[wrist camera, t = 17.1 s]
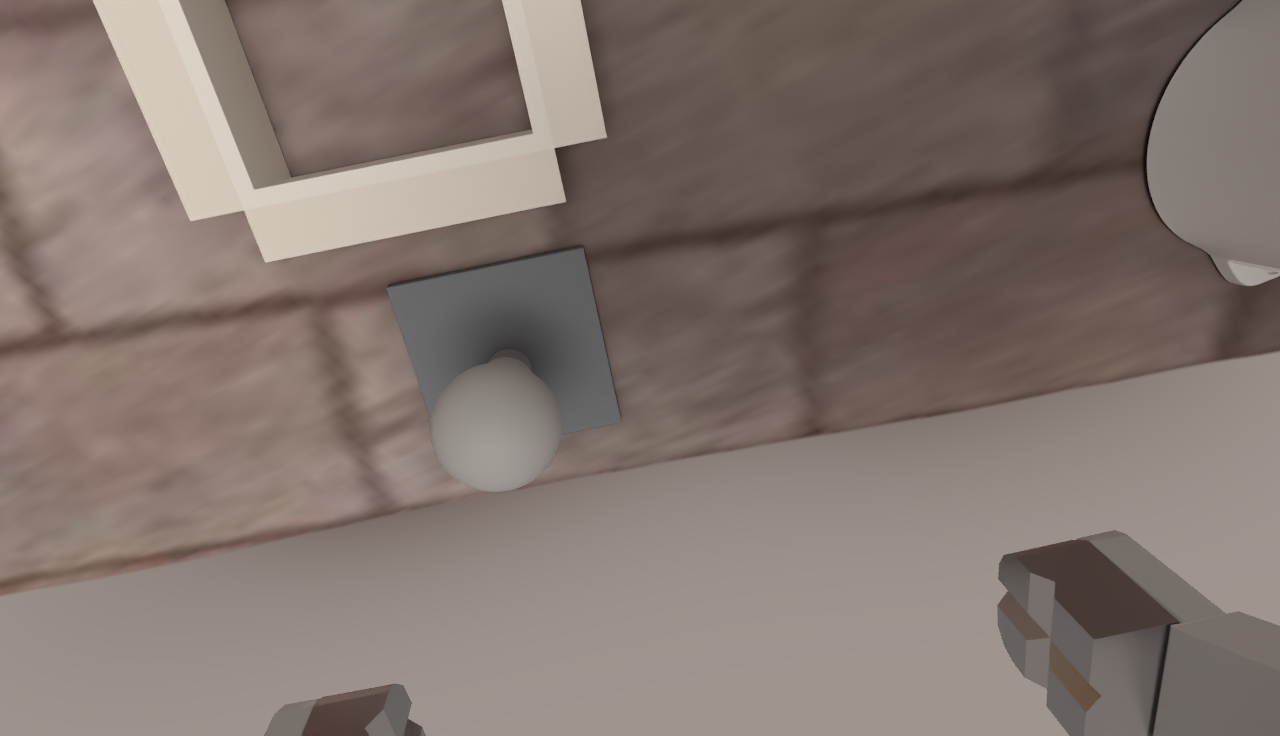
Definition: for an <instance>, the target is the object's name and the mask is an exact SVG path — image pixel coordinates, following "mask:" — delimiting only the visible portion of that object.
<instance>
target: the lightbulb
mask: <svg viewBox="0 0 1280 736" xmlns="http://www.w3.org/2000/svg"><path fill="white" fill-rule="evenodd" d="M430 434H431V443H432V445H433V448H434V451H435V454H436V456H437V458H438V460H439V462H440V463H441V465H442V467H443V468H444V469H445V470H446V471H447V472H448V473H449V474H450V475H451V476H452V477H454V478H455V479H456V480H458V481H459V482H461V483H463V484H465V485H467V486H469V487H471V488H474V489H478V490H481V491H489V492H501V491H508V490H513V489H517V488H519V487H522V486H524V485H526V484H528V483H529V482H531V481H533V480H534V479H536V478H537V477H538V476H539V475H540V474H541V473H542V472H543V471H544V470H545V469H546V468H547V467H548V465H549V464H550V462H551V461H552V460H553V458H554V456H555V453H556V451H557V449H558V447H559V444H560V439H561V434H562V418H561V413H560V409H559V405H558V403H557V401H556V399H555V398H554V396H553V394H552V392H551V390H550V389H549V388H548V386H547V385H546V384H545V383H544V382H543V381H542V380H541V379H540V378H539V377H538V376H536V375H535V374H533V373H532V369H531V364H530V361H529V359H528V358H527V357H526V356H525V355H524V354H523V353H521V352H520V351H517V350H514V349H504V350H501V351H498V352H497V353H495V354H494V355H493V356H492V357H491V358H490V360H489V362H488V363H486V364H482V365H477V366H475V367H472V368H470V369H467V370H465V371H464V372H462V373H461V374H459V375H458V376H456V377H455V378H454V379H452V380H451V381H450V382H449V383H448V384H447V385H446V386H445V387H444V388H443V390H442V392H441V393H440V395H439V396H438V398H437V400H436V402H435V405H434V408H433V411H432V414H431V421H430Z"/></svg>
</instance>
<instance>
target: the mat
mask: <svg viewBox="0 0 1280 736" xmlns="http://www.w3.org/2000/svg"><path fill="white" fill-rule="evenodd" d="M386 289H387V292H388V295H389V298H390V301H391V304H392V307H393V309H394V312H395V315H396V318H397V321H398V324H399V327H400V330H401V333H402V336H403V339H404V342H405V344H406V347H407V350H408V353H409V356H410V359H411V362H412V365H413V368H414V371H415V374H416V377H417V380H418V382H419V385H420V388H421V391H422V394H423V397H424V400H425V403H426V406H427V409H428V412H429V415H430V417H431V414H432V411H433V408H434V405H435V402H436V400H437V398H438V396H439V395H440V393H441V392H442V390H443V388H444V387H445V386H446V385H447V384H448V383H449V382H450V381H451V380H452V379H454V378H455V377H456V376H458V375H459V374H461V373H462V372H464V371H465V370H467V369H470V368H472V367H475V366H477V365H482V364H486V363H488V362H489V360H490V358H491V357H492V356H493V355H494V354H495V353H497V352H498V351H501V350H504V349H514V350H517V351H520V352H521V353H523V354H524V355H525V356H526V357H527V358H528V359H529V361H530V364H531V369H532V373H533V374H535V375H536V376H538V377H539V378H540V379H541V380H542V381H543V382H544V383H545V384H546V385H547V386H548V388H549V389H550V390H551V392H552V394H553V396H554V398H555V399H556V401H557V403H558V405H559V409H560V413H561V418H562V434H561V435H563V434H568V433H573V432H578V431H583V430H587V429H592V428H597V427H602V426H607V425H612V424H616V423H621V417H620V412H619V408H618V403H617V399H616V394H615V390H614V385H613V380H612V376H611V371H610V367H609V362H608V358H607V353H606V348H605V344H604V339H603V335H602V330H601V326H600V321H599V316H598V312H597V307H596V303H595V298H594V294H593V289H592V284H591V280H590V275H589V271H588V266H587V262H586V257H585V252H584V248H583V246H579V247H574V248H569V249H564V250H559V251H554V252H549V253H544V254H540V255H535V256H530V257H525V258H520V259H515V260H510V261H505V262H500V263H495V264H490V265H485V266H480V267H476V268H471V269H466V270H461V271H456V272H451V273H446V274H441V275H436V276H431V277H426V278H421V279H416V280H411V281H407V282H402V283H397V284H392V285H388V287H387V288H386Z"/></svg>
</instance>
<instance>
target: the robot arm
mask: <svg viewBox="0 0 1280 736" xmlns="http://www.w3.org/2000/svg"><path fill="white" fill-rule="evenodd" d="M1147 178H1148V185H1149V190H1150V194H1151V197H1152V200H1153V203H1154V205H1155V208H1156V210H1157V212H1158V214H1159V215H1160V217H1161V218H1162V220H1163V221H1164V223H1165V224H1166V225H1167V226H1168V227H1169V229H1171V230H1172V231H1173V232H1174V233H1175V234H1176V235H1177V236H1179V237H1180V238H1181V239H1183V240H1185V241H1186V242H1188V243H1190V244H1192V245H1194V246H1196V247H1198V248H1200V249H1202V250H1204V251H1205V252H1207V253H1208V254H1209V255H1210V256H1211V257H1212V259H1213V261H1214V263H1215V265H1216V266H1217V268H1218V270H1219V271H1220V273H1221V274H1222V276H1223V277H1224V278H1225V279H1226V280H1227V281H1228V282H1230V283H1233V284H1238V285H1244V286H1254V285H1258V284H1261V283H1263V282H1266V281H1268V280H1271V279H1274V278H1276V277H1279V276H1280V0H1242V1H1241V2H1240V3H1239V4H1238V5H1237V6H1236V7H1235V8H1234V9H1233V10H1231V11H1230V12H1229V13H1228V14H1227V15H1226V16H1225V17H1223V18H1222V19H1221V20H1220V21H1219V22H1218V23H1217V24H1215V25H1214V26H1213V27H1212V28H1211V29H1210V30H1209V31H1208V32H1207V33H1206V34H1205V35H1204V36H1203V37H1202V38H1201V39H1200V40H1199V42H1198V43H1197V44H1196V45H1195V46H1194V48H1193V49H1192V50H1191V51H1190V53H1189V54H1188V55H1187V56H1186V58H1185V59H1184V60H1183V62H1182V63H1181V65H1180V66H1179V68H1178V69H1177V71H1176V73H1175V74H1174V76H1173V78H1172V79H1171V81H1170V83H1169V85H1168V87H1167V89H1166V91H1165V93H1164V95H1163V97H1162V99H1161V102H1160V104H1159V107H1158V109H1157V112H1156V115H1155V118H1154V121H1153V125H1152V129H1151V133H1150V138H1149V143H1148V151H1147ZM998 579H999V580H1000V581H1001V583H1002V584H1003V585H1004V586H1005V587H1006V589H1007V590H1008V592H1007V593H1006V594H1005V596H1004V597H1003V598H1002V600H1001V601H1000V603H999V604H998V627H999V630H1000V633H1001V637H1002V640H1003V643H1004V646H1005V648H1006V650H1007V652H1008V654H1009V655H1010V657H1011V659H1012V661H1013V662H1014V664H1015V665H1016V666H1017V668H1018V669H1019V670H1020V672H1021V673H1022V675H1023V676H1024V677H1025V678H1027V679H1029V680H1031V681H1033V682H1035V683H1037V684H1039V685H1041V686H1043V687H1045V688H1046V689H1047V707H1048V709H1049V710H1050V711H1051V712H1052V714H1053V715H1054V716H1055V717H1056V718H1057V720H1058V721H1059V723H1060V724H1061V725H1062V727H1063V728H1064V729H1065V730H1066V732H1067V733H1068V734H1069V736H1280V626H1278V625H1275V624H1272V623H1270V622H1267V621H1264V620H1261V619H1258V618H1256V617H1253V616H1249V615H1247V614H1244V613H1241V612H1234V613H1228V614H1226V613H1225V612H1223V611H1222V610H1221V609H1220V608H1218V607H1217V606H1216V605H1214V604H1213V603H1212V602H1211V601H1210V600H1208V599H1207V598H1206V597H1204V596H1203V595H1202V594H1201V593H1199V592H1198V591H1197V590H1196V589H1194V588H1193V587H1192V586H1191V585H1189V584H1188V583H1187V582H1186V581H1184V580H1183V579H1182V578H1181V577H1179V576H1178V575H1177V574H1176V573H1174V572H1173V571H1172V570H1171V569H1169V568H1168V567H1167V566H1166V565H1164V564H1163V563H1162V562H1161V561H1159V560H1158V559H1157V558H1156V557H1154V556H1153V555H1152V554H1151V553H1149V552H1148V551H1147V550H1146V549H1144V548H1143V547H1142V546H1141V545H1139V544H1138V543H1137V542H1136V541H1134V540H1133V539H1132V538H1131V537H1129V536H1128V535H1126V534H1124V533H1122V532H1118V531H1115V530H1113V531H1109V532H1104V533H1100V534H1095V535H1091V536H1087V537H1082V538H1078V539H1077V540H1070V541H1066V542H1061V543H1056V544H1052V545H1047V546H1043V547H1039V548H1034V549H1029V550H1025V551H1020V552H1016V553H1011V554H1006V555H1004V556H1003V558H1002V559H1001V562H1000V563H999V577H998ZM411 704H412V703H411V701H410V699H409V697H408V694H407V692H406V690H405V688H404V686H403V685H399V684H391V685H385V686H380V687H375V688H369V689H364V690H359V691H353V692H348V693H342V694H337V695H332V696H326V697H322V698H321V699H316V700H309V701H304V702H298V703H293V704H287V705H284V706H283V707H282V708H281V709H280V710H279V711H278V712H277V713H275V715H274V716H273V718H272V721H271V723H270V725H269V727H268V729H267V731H266V733H265V735H264V736H426V735H425V733H424V730H423V728H422V727H421V726H419V725H418V724H416V723H414V722H412V721H411V720H409V719H408V716H409V712H410V708H411Z"/></svg>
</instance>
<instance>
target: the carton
mask: <svg viewBox="0 0 1280 736" xmlns="http://www.w3.org/2000/svg"><path fill="white" fill-rule="evenodd" d="M93 2H94V4H95V7H96V9H97V11H98V13H99V16H100V18H101V20H102V22H103V25H104V27H105V29H106V31H107V34H108V36H109V38H110V40H111V43H112V45H113V47H114V50H115V52H116V54H117V56H118V59H119V61H120V63H121V65H122V68H123V70H124V72H125V74H126V77H127V79H128V81H129V83H130V86H131V88H132V90H133V92H134V95H135V97H136V99H137V102H138V104H139V106H140V108H141V111H142V113H143V115H144V117H145V120H146V122H147V124H148V126H149V129H150V131H151V133H152V135H153V138H154V140H155V142H156V144H157V147H158V149H159V151H160V153H161V156H162V158H163V160H164V163H165V165H166V167H167V169H168V172H169V174H170V176H171V178H172V181H173V183H174V185H175V187H176V190H177V192H178V194H179V196H180V199H181V201H182V203H183V205H184V208H185V210H186V212H187V215H188V217H189V219H190V221H194V220H199V219H204V218H209V217H214V216H219V215H224V214H229V213H234V212H239V211H244V212H245V214H246V217H247V219H248V222H249V224H250V226H251V229H252V231H253V234H254V236H255V239H256V241H257V244H258V246H259V248H260V251H261V253H262V256H263V258H264V261H265V263H266V262H271V261H276V260H281V259H286V258H291V257H296V256H301V255H306V254H310V253H315V252H320V251H325V250H330V249H335V248H340V247H345V246H350V245H355V244H360V243H365V242H370V241H375V240H380V239H385V238H390V237H395V236H400V235H405V234H409V233H414V232H419V231H424V230H429V229H434V228H439V227H444V226H449V225H454V224H459V223H464V222H469V221H474V220H479V219H484V218H489V217H494V216H499V215H504V214H508V213H513V212H518V211H523V210H528V209H533V208H538V207H543V206H548V205H553V204H558V203H563V202H566V198H565V193H564V189H563V184H562V180H561V175H560V171H559V166H558V162H557V157H556V153H555V148H558V147H563V146H568V145H573V144H578V143H583V142H588V141H593V140H598V139H603V138H607V135H606V130H605V125H604V120H603V115H602V110H601V104H600V99H599V94H598V89H597V84H596V78H595V73H594V68H593V63H592V58H591V52H590V47H589V42H588V37H587V32H586V26H585V21H584V16H583V11H582V6H581V0H502V2H503V6H504V11H505V15H506V19H507V24H508V28H509V32H510V36H511V41H512V45H513V49H514V54H515V58H516V62H517V66H518V71H519V75H520V79H521V84H522V88H523V92H524V97H525V101H526V105H527V109H528V114H529V118H530V122H531V127H532V129H530V130H525V131H520V132H515V133H510V134H505V135H500V136H495V137H491V138H486V139H481V140H476V141H471V142H466V143H461V144H456V145H451V146H446V147H441V148H436V149H431V150H426V151H421V152H416V153H411V154H406V155H401V156H396V157H391V158H386V159H381V160H376V161H371V162H366V163H361V164H356V165H351V166H346V167H341V168H336V169H331V170H326V171H321V172H316V173H311V174H306V175H301V176H296V177H291V175H290V173H289V170H288V167H287V165H286V162H285V159H284V157H283V154H282V151H281V149H280V146H279V143H278V141H277V138H276V135H275V133H274V130H273V127H272V125H271V122H270V119H269V117H268V114H267V111H266V109H265V106H264V103H263V101H262V98H261V95H260V93H259V90H258V87H257V85H256V82H255V79H254V77H253V74H252V71H251V69H250V66H249V63H248V61H247V58H246V55H245V53H244V50H243V47H242V45H241V42H240V39H239V37H238V34H237V31H236V29H235V26H234V23H233V21H232V18H231V15H230V13H229V10H228V7H227V5H226V2H225V0H93Z"/></svg>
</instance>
